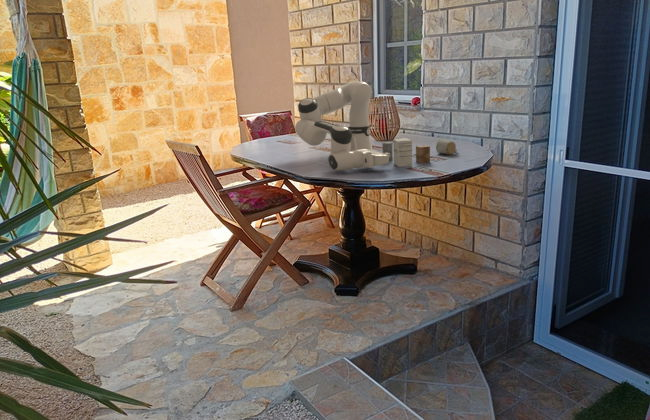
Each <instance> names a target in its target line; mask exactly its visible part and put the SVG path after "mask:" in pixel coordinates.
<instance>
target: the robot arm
mask: <svg viewBox="0 0 650 420" xmlns="http://www.w3.org/2000/svg"><path fill="white" fill-rule="evenodd" d="M372 94H373V89H372V87H371V86H370V85H369V84H368V83H367V82H365V81H357V80H356V81H350V82H348V83H346V84H344V85H341V86H339V87H337V88H335V89H332V90H330V91H328V92H325V93H322V94H319V95H317V96H316V97H313V98H312V97H307V98H302V99H301V100H300V101H299V102H298V104H297V110H298V113H299V120H298V121H297V122H296V123H295V126H294V130H295V133H296V135H297V136H298V137H299V138H300V139H301V140H302V141H303V142H304V143H306V144H307V145H309V146H313V147H315V146H316V147H317V146H319V145H321V144H323V142H324V141H325V139H326V137H327V134H328V135H330V140H331V141H330V154H329V156H328V164H329V167H330V168H331V170H333V171H348V170H352V169H363V168H365V169H366V168H368V169H369V168H370V169H371V168H375V167H377V166H383V165H386V164H389V163H390V161H389V157H390V153H383V152H379V151H377V150H374V149H373V146H372V141H371V126H370V117H369V116H370V115H369V114H370V113H369V112H370V104H371V97H372V96H373V95H372ZM348 105H350V110H349V113H348V114H349V115H348V117H349V118H348V119H349V126H342V125H337V124H334V123H330V122H327V121H323V120H322V116H324V115H327V114H330V113H333V112H336V111H338V110H341V109H343V108H345V107H346V106H348Z"/></svg>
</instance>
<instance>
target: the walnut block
mask: <svg viewBox="0 0 650 420" xmlns="http://www.w3.org/2000/svg"><path fill="white" fill-rule="evenodd" d="M415 162H416V163H418V164H427V163H428V164H429V163H431V146H430V145H427V144H422V145H416V146H415Z"/></svg>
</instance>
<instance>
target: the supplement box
mask: <svg viewBox="0 0 650 420" xmlns="http://www.w3.org/2000/svg"><path fill="white" fill-rule="evenodd" d="M393 164H394V165H396V166H397V168H400V167H401V168H402V167H412V166H413V140H412V139H410V138H407V137H402V138H394V139H393Z"/></svg>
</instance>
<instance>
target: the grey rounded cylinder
mask: <svg viewBox="0 0 650 420" xmlns="http://www.w3.org/2000/svg"><path fill="white" fill-rule="evenodd" d="M382 153H390V157H389V162H392V161H394V154H393V142H390V141H387V142H382Z"/></svg>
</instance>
